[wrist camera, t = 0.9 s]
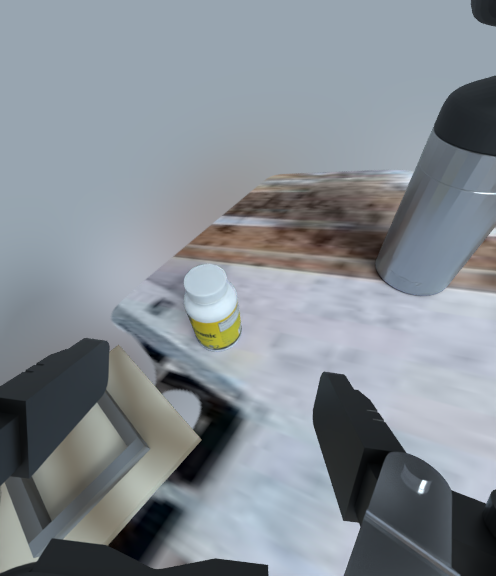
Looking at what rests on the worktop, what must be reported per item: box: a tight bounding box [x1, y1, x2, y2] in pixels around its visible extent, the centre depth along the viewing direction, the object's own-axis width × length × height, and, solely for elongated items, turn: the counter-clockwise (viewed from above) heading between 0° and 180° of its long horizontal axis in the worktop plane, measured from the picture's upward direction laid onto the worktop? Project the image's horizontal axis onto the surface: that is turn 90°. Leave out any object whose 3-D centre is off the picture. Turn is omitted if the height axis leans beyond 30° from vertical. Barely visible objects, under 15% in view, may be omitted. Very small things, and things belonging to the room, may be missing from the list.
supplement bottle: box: [184, 264, 242, 352], centre depth 28 cm, size 5×5×10 cm
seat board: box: [0, 345, 201, 573], centre depth 23 cm, size 16×14×3 cm
